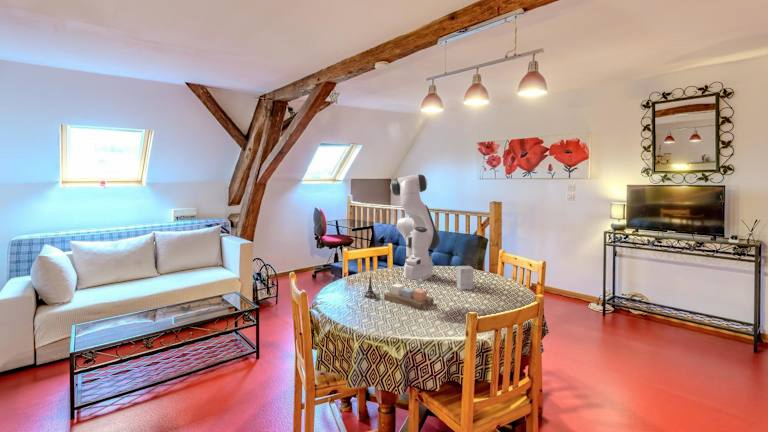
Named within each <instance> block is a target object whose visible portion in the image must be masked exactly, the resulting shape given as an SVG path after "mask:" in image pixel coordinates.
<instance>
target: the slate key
mask: <svg viewBox="0 0 768 432" xmlns="http://www.w3.org/2000/svg"><path fill="white" fill-rule="evenodd" d="M415 290H416V289H412V288H410V287H407V288H404V290H402V297H405V298H408V299H411V298H413V294H414V291H415Z"/></svg>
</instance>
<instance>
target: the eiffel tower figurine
mask: <svg viewBox="0 0 768 432" xmlns="http://www.w3.org/2000/svg"><path fill="white" fill-rule="evenodd" d="M371 277H372V276H371V275H370V276H369V282H368V289H367V291H365V292H364V291H363V292H362V294H363V293H366V294H364V295H363V298H365V299H369V300H371V299H374V302H380V301H381V293H378V292H374V291H373V287H372V278H371Z"/></svg>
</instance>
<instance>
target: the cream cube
mask: <svg viewBox="0 0 768 432" xmlns="http://www.w3.org/2000/svg"><path fill="white" fill-rule="evenodd" d="M390 289H391V291H390V292H391V294H394V295H397V296H399V295H402V290H404V289H405V285H404V284H400V283H395V284H391V285H390Z"/></svg>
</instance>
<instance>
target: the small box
mask: <svg viewBox="0 0 768 432" xmlns="http://www.w3.org/2000/svg"><path fill="white" fill-rule="evenodd" d="M456 288H457V289H459V290H460V291H461V290H462V291H464V290H466V289H467V290H473V289H474V267H473V266H471V265H457V266H456ZM467 290H466V291H467Z"/></svg>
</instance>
